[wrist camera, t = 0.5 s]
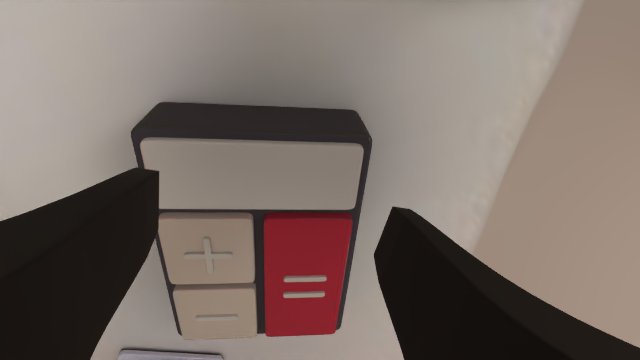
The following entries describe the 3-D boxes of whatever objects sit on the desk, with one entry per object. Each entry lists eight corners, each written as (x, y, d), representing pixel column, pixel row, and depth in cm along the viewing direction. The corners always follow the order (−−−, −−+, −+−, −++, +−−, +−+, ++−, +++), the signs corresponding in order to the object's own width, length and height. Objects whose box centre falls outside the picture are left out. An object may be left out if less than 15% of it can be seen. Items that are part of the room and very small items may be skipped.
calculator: (174, 348, 21) (119, 133, 14) (190, 294, 25) (154, 100, 17) (342, 341, 23) (378, 141, 15) (334, 291, 26) (359, 109, 19)
